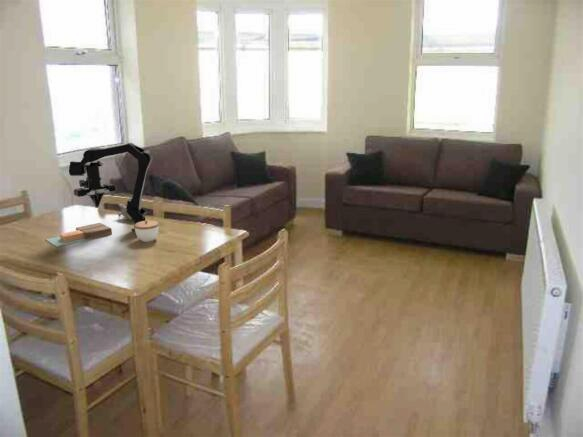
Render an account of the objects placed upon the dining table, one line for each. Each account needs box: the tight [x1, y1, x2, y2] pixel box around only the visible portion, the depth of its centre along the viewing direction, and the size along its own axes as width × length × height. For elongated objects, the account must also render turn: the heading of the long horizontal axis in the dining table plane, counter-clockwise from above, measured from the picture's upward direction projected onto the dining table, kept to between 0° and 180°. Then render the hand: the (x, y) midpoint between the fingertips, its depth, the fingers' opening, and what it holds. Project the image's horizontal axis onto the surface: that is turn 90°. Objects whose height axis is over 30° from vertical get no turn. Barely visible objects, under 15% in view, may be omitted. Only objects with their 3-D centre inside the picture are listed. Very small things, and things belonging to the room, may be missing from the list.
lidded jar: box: [133, 219, 159, 243], centre depth 250 cm, size 11×11×9 cm
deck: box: [75, 222, 113, 241], centre depth 260 cm, size 13×12×3 cm
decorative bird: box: [118, 203, 133, 221], centre depth 283 cm, size 5×16×7 cm, turn 49°
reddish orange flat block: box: [59, 230, 85, 242], centre depth 253 cm, size 6×9×2 cm, turn 132°
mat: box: [45, 235, 88, 248], centre depth 252 cm, size 14×14×1 cm
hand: (97, 207), depth 262 cm, fingers closed
